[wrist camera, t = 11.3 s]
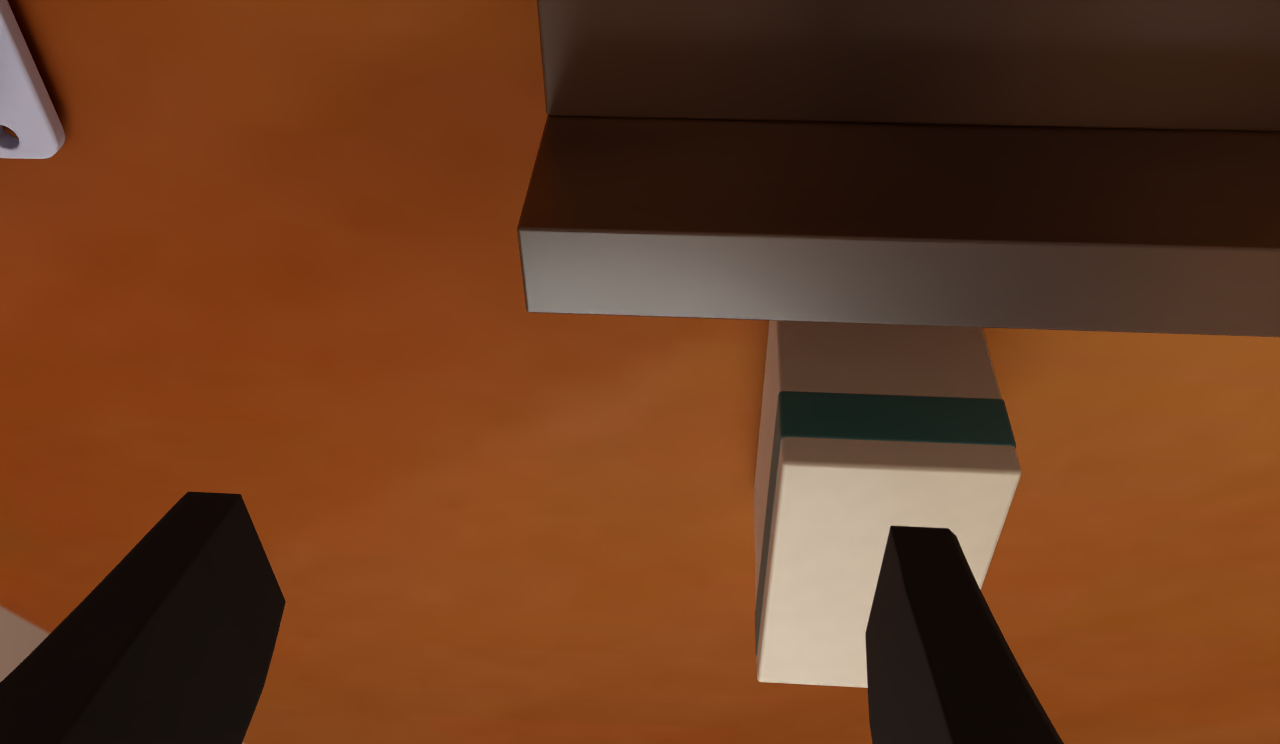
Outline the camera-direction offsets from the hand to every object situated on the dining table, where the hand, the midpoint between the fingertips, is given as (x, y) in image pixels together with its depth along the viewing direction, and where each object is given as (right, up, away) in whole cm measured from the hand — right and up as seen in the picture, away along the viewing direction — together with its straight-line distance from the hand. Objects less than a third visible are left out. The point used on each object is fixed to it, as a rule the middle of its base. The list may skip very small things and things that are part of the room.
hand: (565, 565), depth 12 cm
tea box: (+6, +2, +12) cm, 13 cm away
